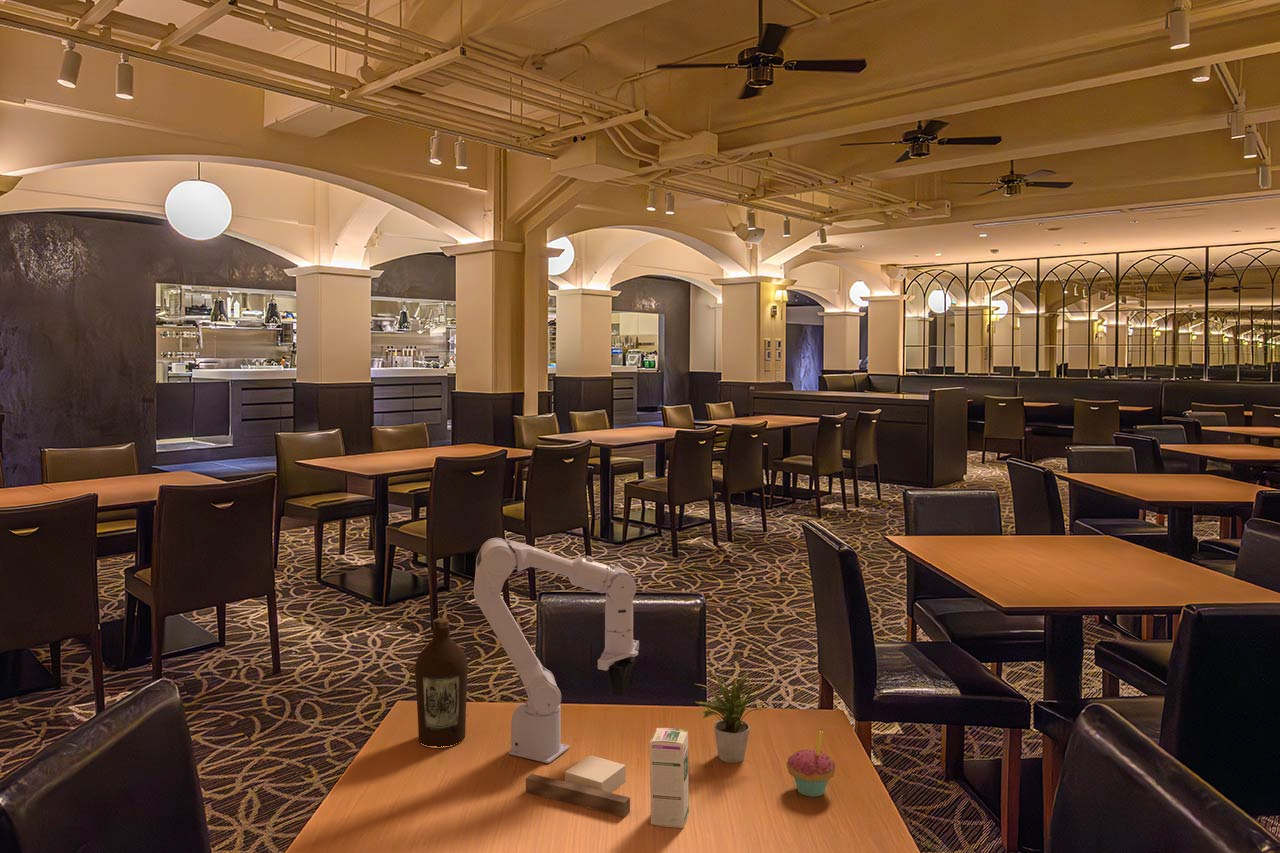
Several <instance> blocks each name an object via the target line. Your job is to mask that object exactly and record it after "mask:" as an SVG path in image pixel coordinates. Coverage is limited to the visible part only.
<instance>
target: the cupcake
mask: <svg viewBox="0 0 1280 853" xmlns="http://www.w3.org/2000/svg"><path fill="white" fill-rule="evenodd" d="M823 730H824V727H821V730H819V732H818V739H817V743H816V747H815V748H816V749H814V748H813V749H801V750H797V751H796V752H793V753H792V754H790V756H789V757H788V758H787V761H786V769H787V770H788V774H789V775H790V776H792V777H793V779H794V782H795V786H796V788H797V789H796V790H797V792H799V793H800V794H801V795H803V796H806V797H811V798H816V797H820V796H822V795H824V793H825V791H826V787H827V785H828V782H829V780H831V779H832V778H833V777H834V776H835V772H836V771H835V770H836V763H835V762H834V761H833V759H832V758H831V757H830V756H828V755H827V754H826V753H824V752H823V751H821V745H822V741H823V736H824V731H823Z"/></svg>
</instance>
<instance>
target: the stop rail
mask: <svg viewBox="0 0 1280 853" xmlns="http://www.w3.org/2000/svg"><path fill="white" fill-rule="evenodd" d="M525 793H529V794H532V795H536V796H541V797H545V798H548V799H552V800H556V801H558V802H559V801H560V802H564V803H568V804H571V805H575V806H580V807H584V808H588V809H591V810H595V811H599V812H603V813H607V814H610V815H614V816H620V817H622V818H626V816H628V815H629V814H630V812H631V797H629V796H625V795H621V794H616V793H613V792H612V793H609V792H605V791H601V790H597V789H593V788H589V787H585V786H580V785H576V784H572V783H568V782H565V780H564V781H563V780H559V779H557V778H556V779H555V778H552V777H551V778H550V777H547V776H542V775H539V774H534V773H531V774H530V775H528V776H526V778H525Z"/></svg>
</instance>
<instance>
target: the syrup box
mask: <svg viewBox="0 0 1280 853" xmlns="http://www.w3.org/2000/svg"><path fill="white" fill-rule="evenodd" d="M689 764H690V762H689V731H688V730H686V729H683V728H675V727H673V728H672V727H656V728H655V731H654V733H653V735H652V736H651V739H650V741H649V768H650V769H649V776H650V777H649V780H650V783H649V785H650V786H649V787H650V824H651V825H652V826H658V827H665V828H675V829H684V828H685V824H686V821H687V819H688V815H689V812H690V790H689V789H690V788H689V787H690V782H689V781H690V778H689V777H690V776H689V774H690V771H689V768H690V767H689Z"/></svg>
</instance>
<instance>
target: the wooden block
mask: <svg viewBox="0 0 1280 853" xmlns="http://www.w3.org/2000/svg"><path fill="white" fill-rule="evenodd" d="M626 769H627V764H622V763H620V762H616V761H613V760H610V759H605V758H602V757H598V756H594V755H591V754H589V755H588V756H586V757H585V758H583V759H582V760H580V761H579V762H578V763H576V764H575V765H573V766H571V767H570V768H568V769H567V770H565V771H564V782H568V783H572V784H576V785H580V786H585V787H589V788H593V789H597V790H601V791H605V792H609V793H613V792H614V791H616V790H617V789H618V788H620V787H621V786H622V785H623V784H625V783H626V782H627V780H626V779H627V778H626V775H627V774H626V771H627V770H626Z"/></svg>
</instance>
